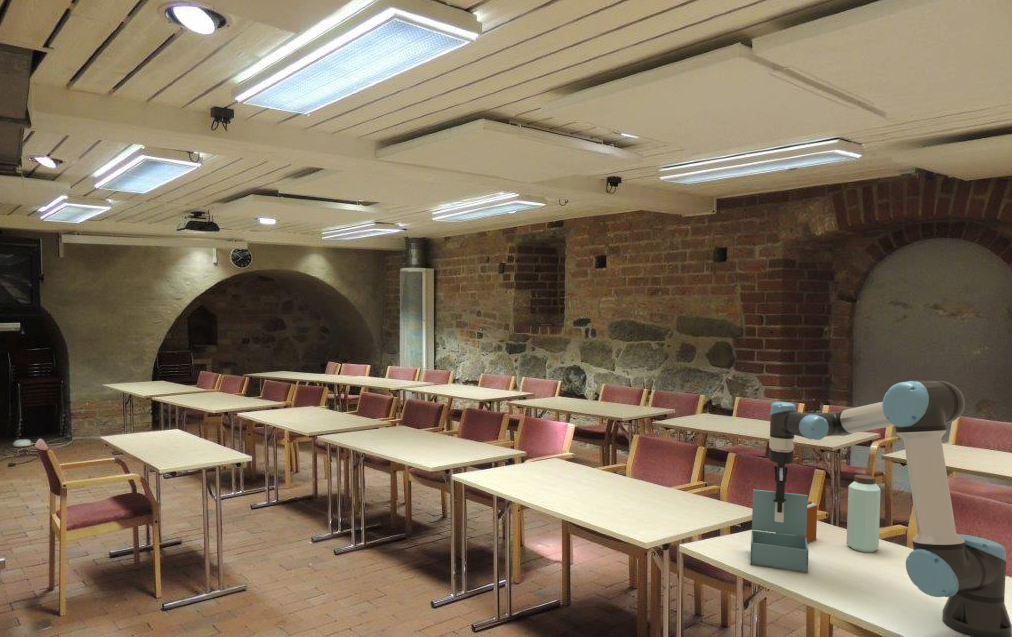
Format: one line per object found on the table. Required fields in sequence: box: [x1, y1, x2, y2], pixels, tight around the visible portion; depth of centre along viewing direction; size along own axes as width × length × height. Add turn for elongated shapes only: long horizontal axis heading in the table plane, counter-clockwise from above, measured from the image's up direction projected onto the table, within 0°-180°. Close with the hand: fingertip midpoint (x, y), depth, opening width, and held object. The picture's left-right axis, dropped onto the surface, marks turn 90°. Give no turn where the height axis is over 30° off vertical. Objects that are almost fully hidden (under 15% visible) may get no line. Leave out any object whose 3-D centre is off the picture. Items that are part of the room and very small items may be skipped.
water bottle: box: [846, 474, 881, 553], centre depth 243 cm, size 10×10×25 cm
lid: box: [751, 489, 809, 536], centre depth 234 cm, size 14×17×1 cm
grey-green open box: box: [750, 529, 809, 573], centre depth 228 cm, size 14×17×7 cm
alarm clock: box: [777, 500, 818, 544], centre depth 250 cm, size 15×8×14 cm, turn 130°
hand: (778, 521), depth 230 cm, fingers closed
